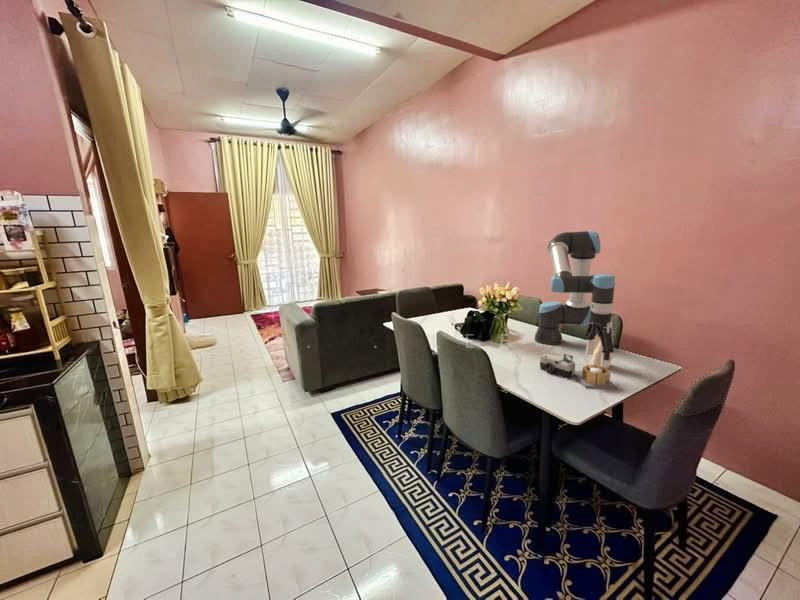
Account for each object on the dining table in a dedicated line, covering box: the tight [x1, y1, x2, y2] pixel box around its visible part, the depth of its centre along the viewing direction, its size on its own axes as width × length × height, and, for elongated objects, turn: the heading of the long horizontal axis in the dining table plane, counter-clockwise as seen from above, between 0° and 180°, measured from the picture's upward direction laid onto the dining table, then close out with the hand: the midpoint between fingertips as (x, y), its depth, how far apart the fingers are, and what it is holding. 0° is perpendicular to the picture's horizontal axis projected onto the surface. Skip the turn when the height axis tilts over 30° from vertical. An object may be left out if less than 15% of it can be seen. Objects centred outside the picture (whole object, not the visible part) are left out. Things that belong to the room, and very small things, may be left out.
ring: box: [581, 364, 612, 386], centre depth 138 cm, size 10×10×5 cm
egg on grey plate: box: [573, 368, 617, 389], centre depth 141 cm, size 15×12×6 cm
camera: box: [539, 353, 576, 379], centre depth 149 cm, size 15×8×10 cm, turn 31°
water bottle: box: [590, 311, 615, 369], centre depth 153 cm, size 10×9×28 cm
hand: (596, 360), depth 137 cm, fingers open, 13 cm apart
